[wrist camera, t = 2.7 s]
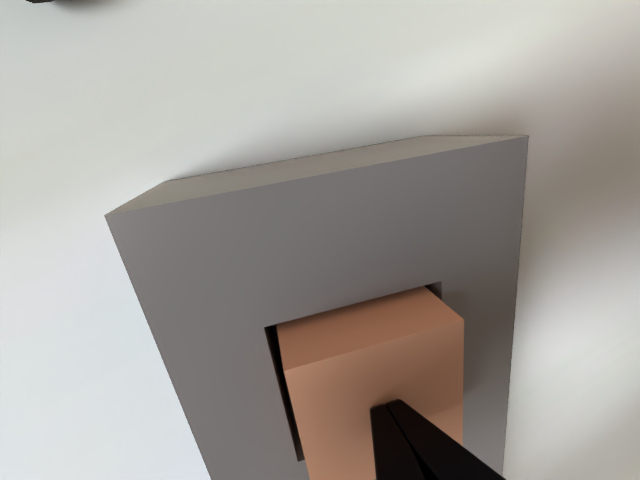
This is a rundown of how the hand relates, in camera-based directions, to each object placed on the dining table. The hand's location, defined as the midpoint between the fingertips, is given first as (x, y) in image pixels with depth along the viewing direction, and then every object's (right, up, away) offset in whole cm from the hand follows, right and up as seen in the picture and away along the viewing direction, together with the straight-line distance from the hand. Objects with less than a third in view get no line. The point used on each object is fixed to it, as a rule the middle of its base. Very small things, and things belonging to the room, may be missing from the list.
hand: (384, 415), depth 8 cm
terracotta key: (-1, +1, +4) cm, 4 cm away
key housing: (0, -4, +8) cm, 9 cm away
